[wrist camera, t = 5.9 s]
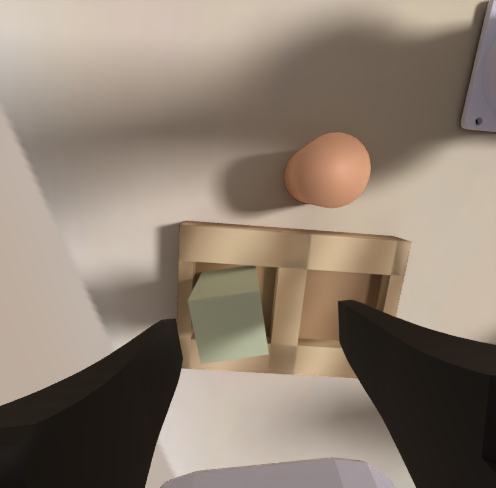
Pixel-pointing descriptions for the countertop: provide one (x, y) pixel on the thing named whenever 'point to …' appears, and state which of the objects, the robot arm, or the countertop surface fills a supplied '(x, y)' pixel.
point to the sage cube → (228, 315)
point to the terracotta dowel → (328, 171)
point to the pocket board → (292, 289)
